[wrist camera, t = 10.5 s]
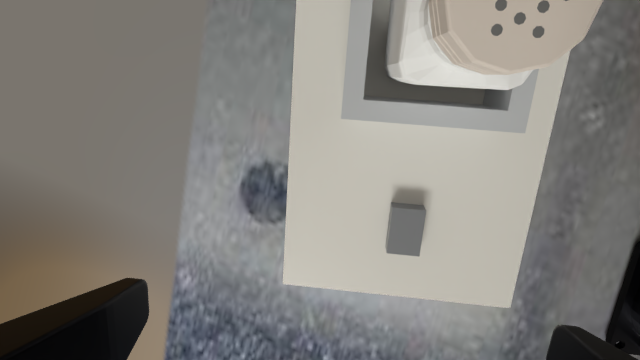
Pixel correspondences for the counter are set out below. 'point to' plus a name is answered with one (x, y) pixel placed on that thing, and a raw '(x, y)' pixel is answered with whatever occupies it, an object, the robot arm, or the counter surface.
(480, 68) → the pepper shaker
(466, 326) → the counter surface
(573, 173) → the counter surface
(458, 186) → the outlet plate
